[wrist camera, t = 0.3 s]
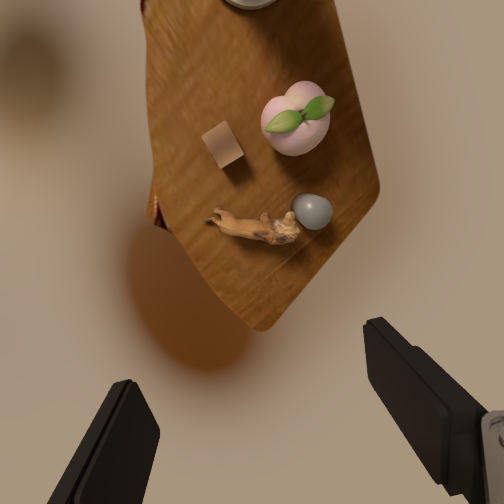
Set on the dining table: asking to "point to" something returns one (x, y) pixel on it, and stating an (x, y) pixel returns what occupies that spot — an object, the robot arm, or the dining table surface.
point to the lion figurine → (258, 227)
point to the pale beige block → (222, 144)
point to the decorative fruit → (297, 119)
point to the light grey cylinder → (311, 210)
